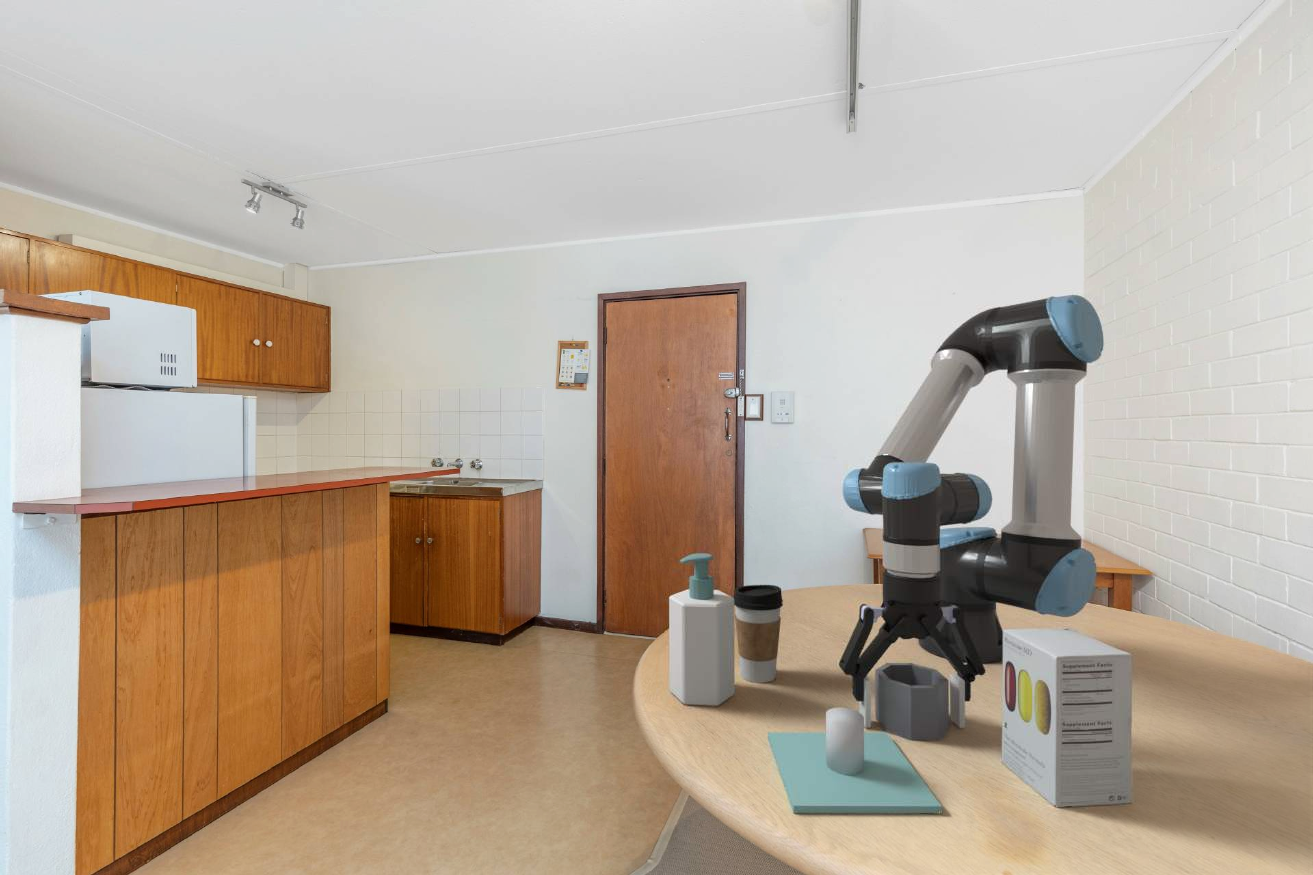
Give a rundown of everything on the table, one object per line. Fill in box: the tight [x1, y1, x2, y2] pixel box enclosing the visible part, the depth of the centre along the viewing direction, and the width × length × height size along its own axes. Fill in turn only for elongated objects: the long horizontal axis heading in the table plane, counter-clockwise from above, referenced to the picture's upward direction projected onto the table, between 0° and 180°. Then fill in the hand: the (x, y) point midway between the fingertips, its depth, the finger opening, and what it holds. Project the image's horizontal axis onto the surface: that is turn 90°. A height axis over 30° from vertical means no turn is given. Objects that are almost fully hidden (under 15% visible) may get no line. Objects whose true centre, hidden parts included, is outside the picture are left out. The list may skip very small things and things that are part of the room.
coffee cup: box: [732, 584, 784, 684], centre depth 101 cm, size 8×8×15 cm
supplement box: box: [1001, 627, 1133, 808], centre depth 70 cm, size 10×9×17 cm
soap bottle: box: [668, 552, 736, 707], centre depth 95 cm, size 10×9×22 cm
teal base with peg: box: [767, 707, 943, 815], centre depth 72 cm, size 16×16×7 cm
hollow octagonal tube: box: [874, 662, 950, 741], centre depth 84 cm, size 9×9×7 cm
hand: (911, 723), depth 84 cm, fingers open, 12 cm apart
